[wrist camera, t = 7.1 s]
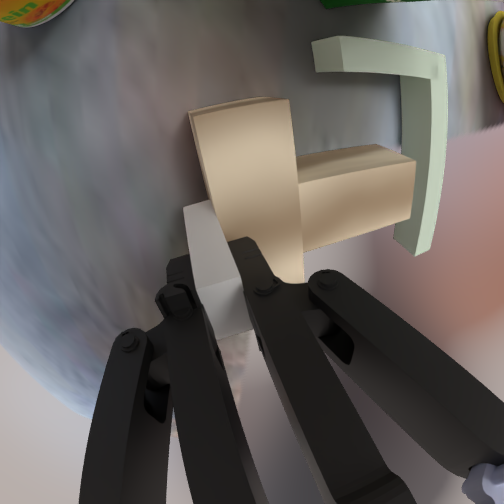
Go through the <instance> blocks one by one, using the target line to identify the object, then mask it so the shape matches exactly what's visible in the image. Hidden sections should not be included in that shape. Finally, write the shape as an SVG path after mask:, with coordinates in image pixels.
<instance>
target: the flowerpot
mask: <svg viewBox="0 0 504 504" xmlns="http://www.w3.org/2000/svg"><path fill="white" fill-rule="evenodd" d="M488 52H489V60H490V65H491V70H492V75H493V79H494V83H495V86H496V89H497V92H498V94H499V96H500V99H501V100H502V102H503V104H504V12H503V11H498V12H497V13H496V14H495V16H494V17H493V18H492V19H491V20H490V22H489V26H488Z"/></svg>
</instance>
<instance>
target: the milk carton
mask: <svg viewBox="0 0 504 504" xmlns="http://www.w3.org/2000/svg"><path fill="white" fill-rule="evenodd" d="M320 1H321V3H322V4H323V5H324V7H325V8H326V9H329V8H335V7H342V6H350V5H359V4H370V3H388V2H415V1H429V0H320ZM489 1H500V2H504V0H489Z"/></svg>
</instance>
